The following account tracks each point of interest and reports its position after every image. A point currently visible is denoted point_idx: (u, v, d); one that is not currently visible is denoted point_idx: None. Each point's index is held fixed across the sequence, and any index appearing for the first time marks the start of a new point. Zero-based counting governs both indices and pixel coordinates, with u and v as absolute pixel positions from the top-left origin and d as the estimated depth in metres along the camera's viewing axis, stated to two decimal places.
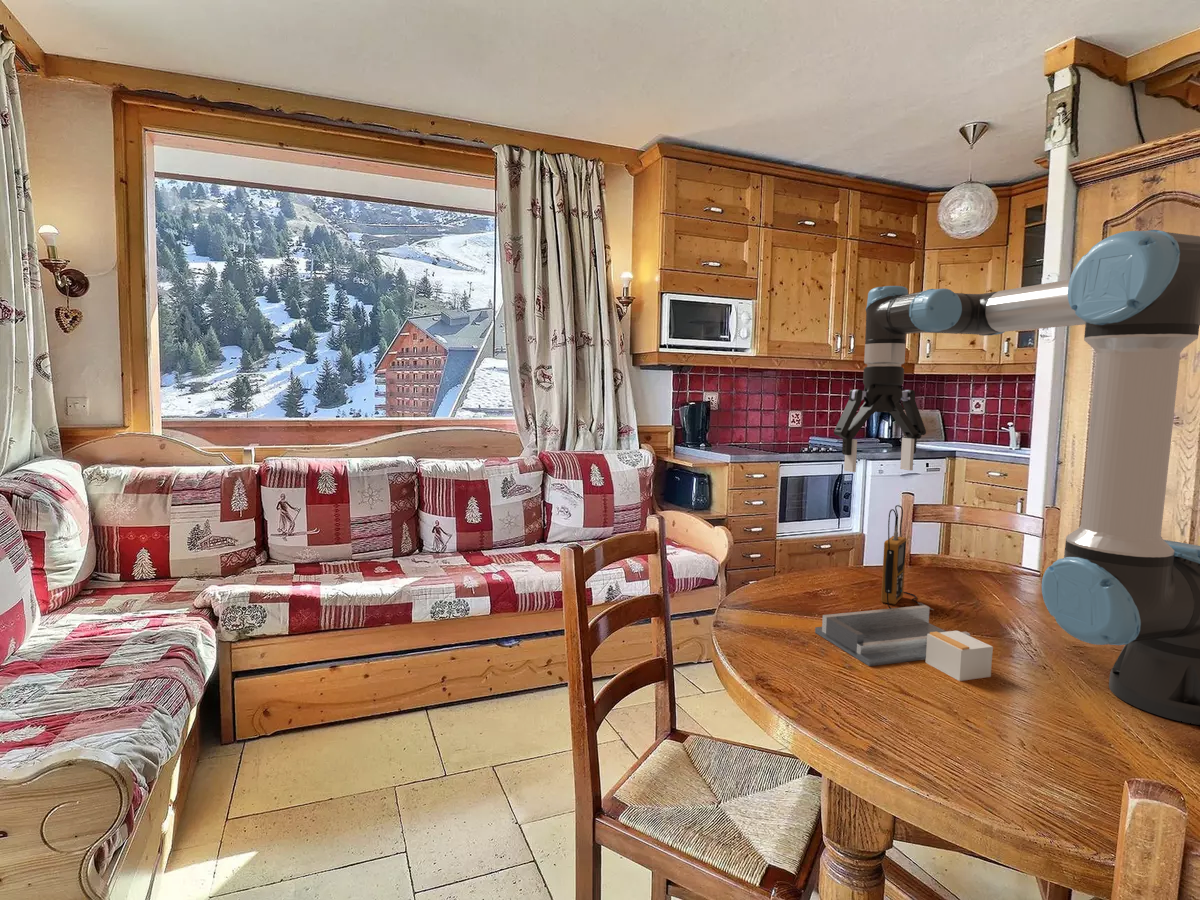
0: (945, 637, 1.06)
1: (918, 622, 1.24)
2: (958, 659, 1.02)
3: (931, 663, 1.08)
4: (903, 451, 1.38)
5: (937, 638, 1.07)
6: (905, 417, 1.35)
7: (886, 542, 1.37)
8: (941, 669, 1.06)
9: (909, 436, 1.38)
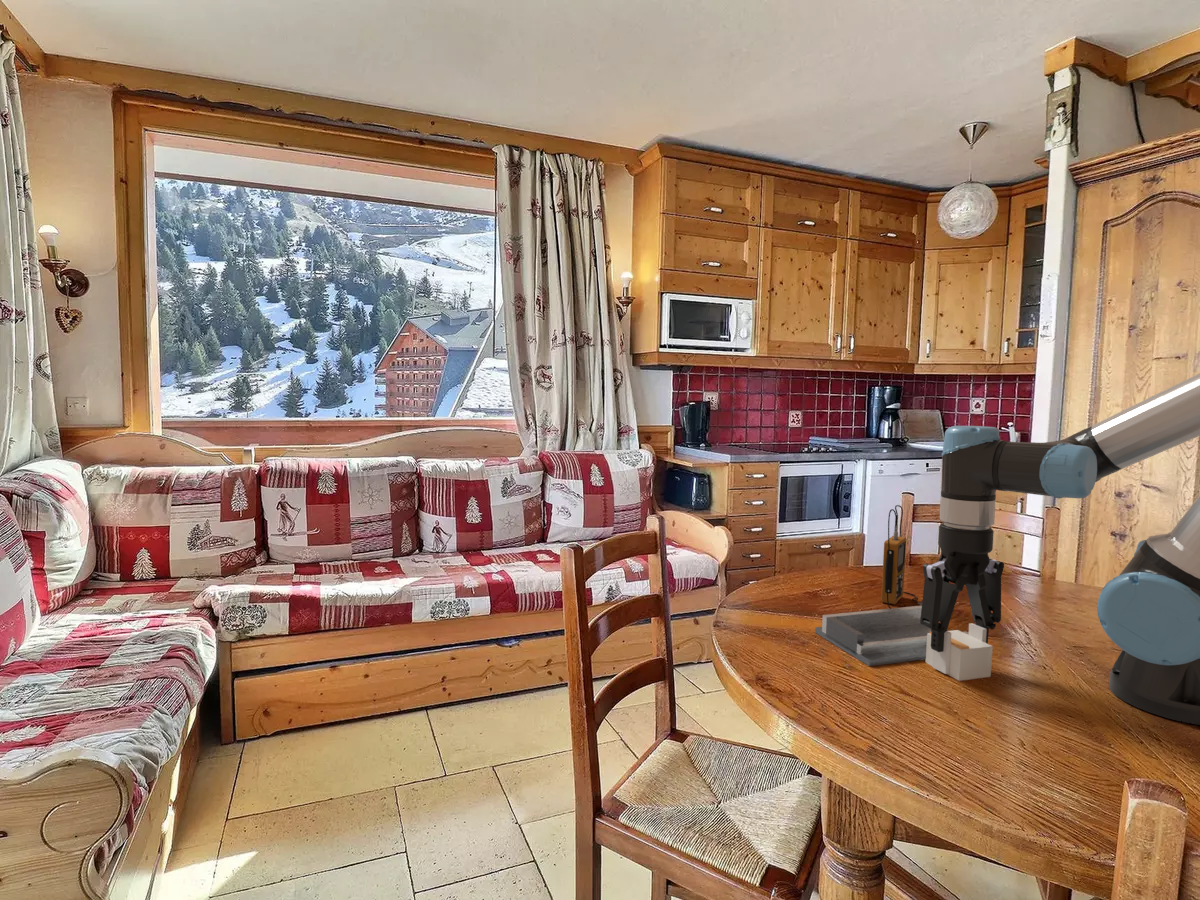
0: None
1: (918, 622, 1.24)
2: (958, 658, 1.02)
3: (931, 662, 1.08)
4: None
5: None
6: (984, 596, 1.05)
7: (886, 542, 1.37)
8: None
9: (979, 622, 1.07)
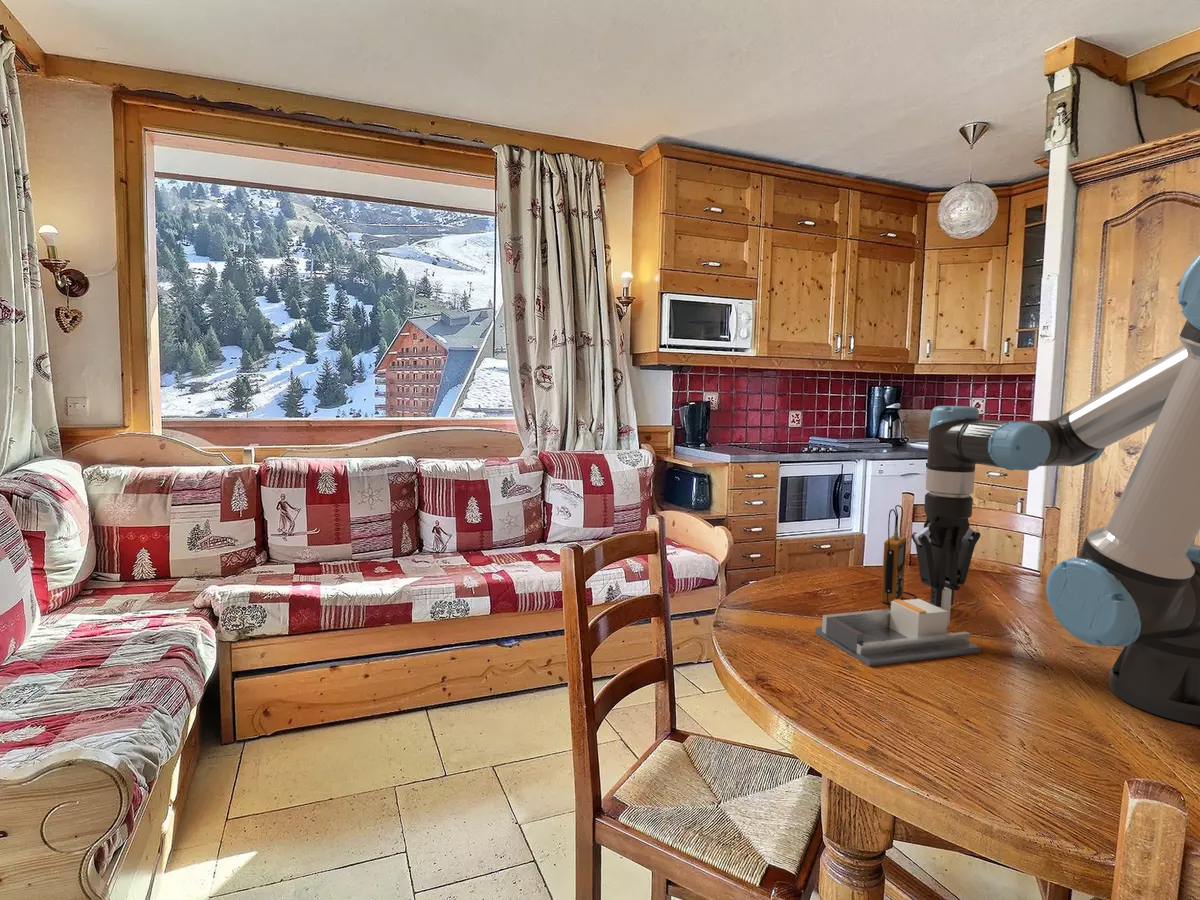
0: (906, 604, 1.19)
1: None
2: (916, 622, 1.15)
3: (894, 627, 1.20)
4: None
5: (899, 604, 1.19)
6: (956, 560, 1.18)
7: (886, 542, 1.37)
8: (902, 632, 1.18)
9: (945, 583, 1.20)
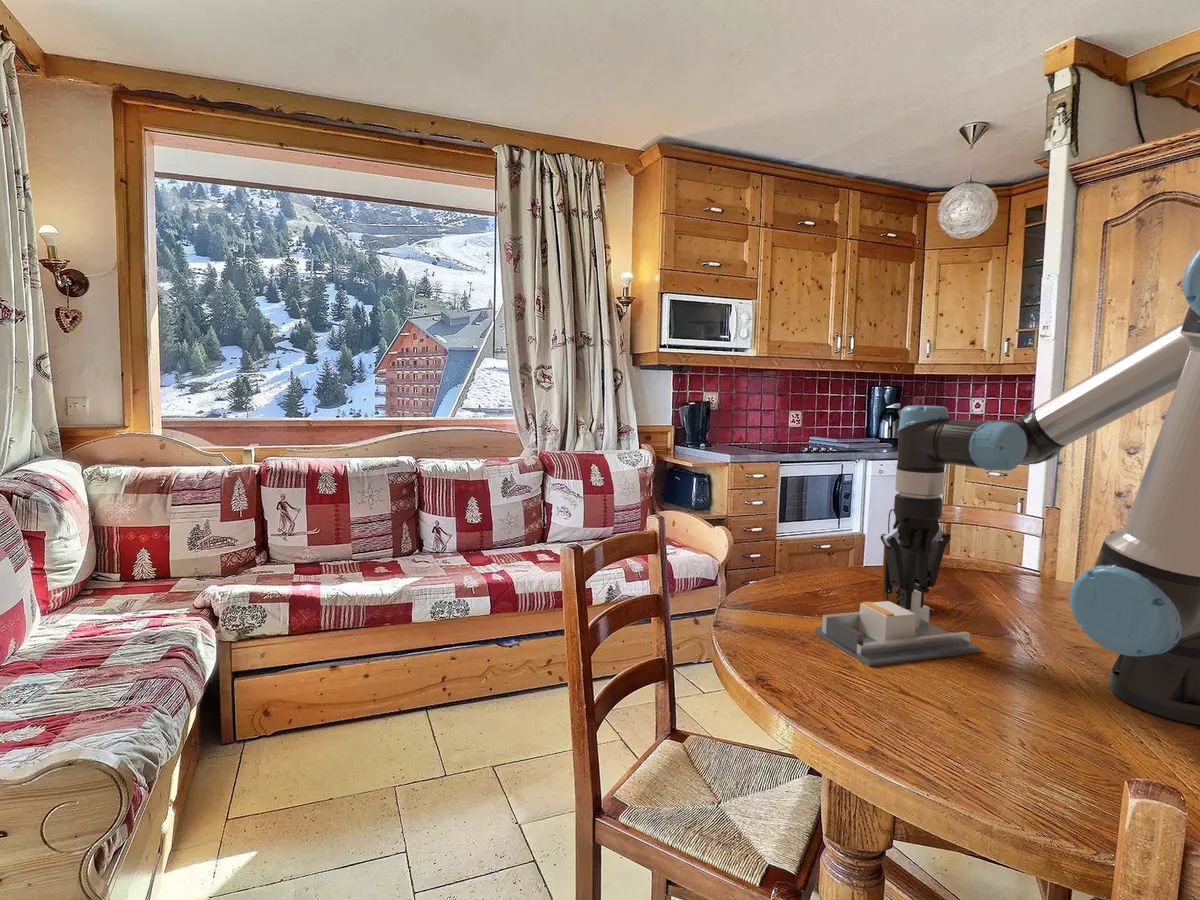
0: (874, 606, 1.17)
1: None
2: (884, 624, 1.13)
3: (863, 630, 1.19)
4: None
5: (868, 607, 1.18)
6: (926, 561, 1.16)
7: None
8: (871, 635, 1.17)
9: (915, 585, 1.18)
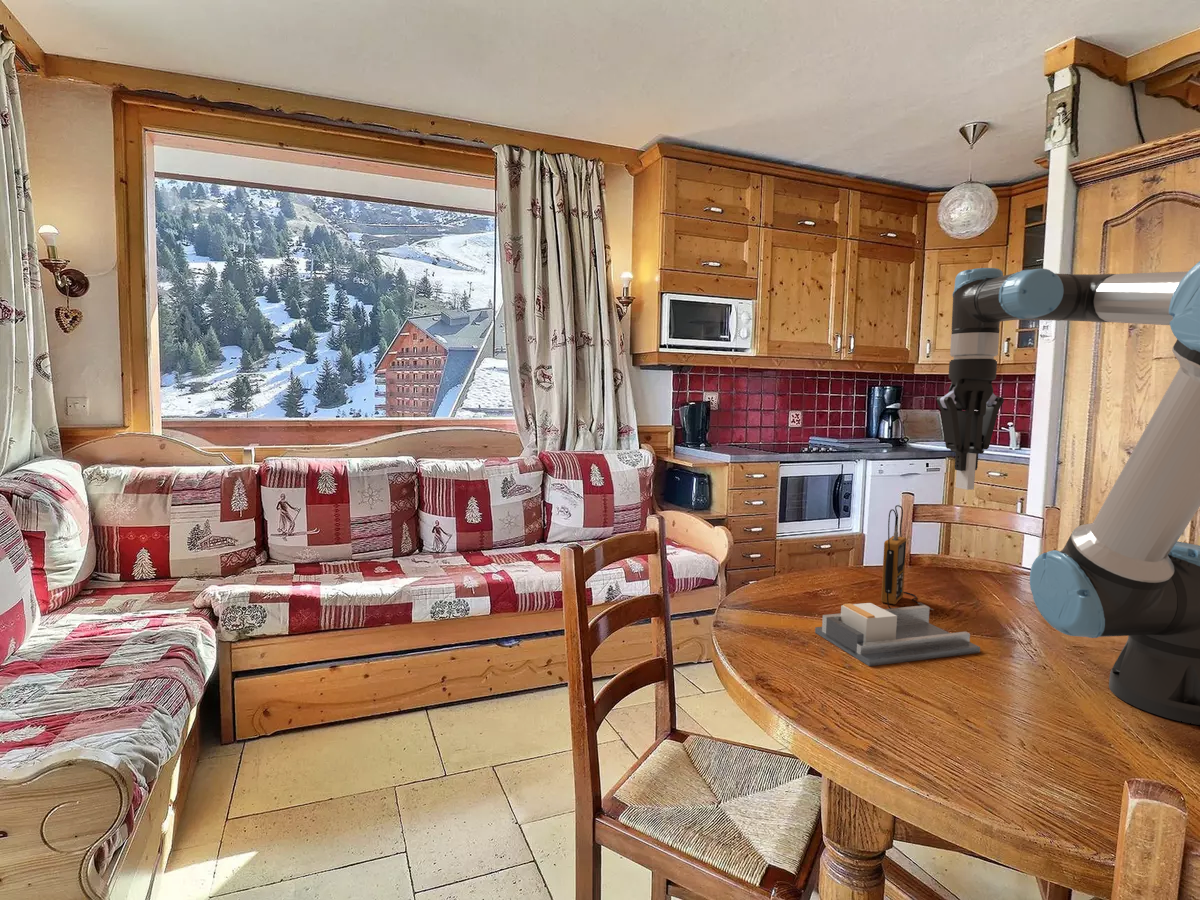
0: (855, 608, 1.16)
1: (918, 622, 1.24)
2: (864, 626, 1.12)
3: None
4: None
5: (849, 609, 1.17)
6: (980, 424, 1.20)
7: (886, 542, 1.37)
8: None
9: (969, 448, 1.22)
